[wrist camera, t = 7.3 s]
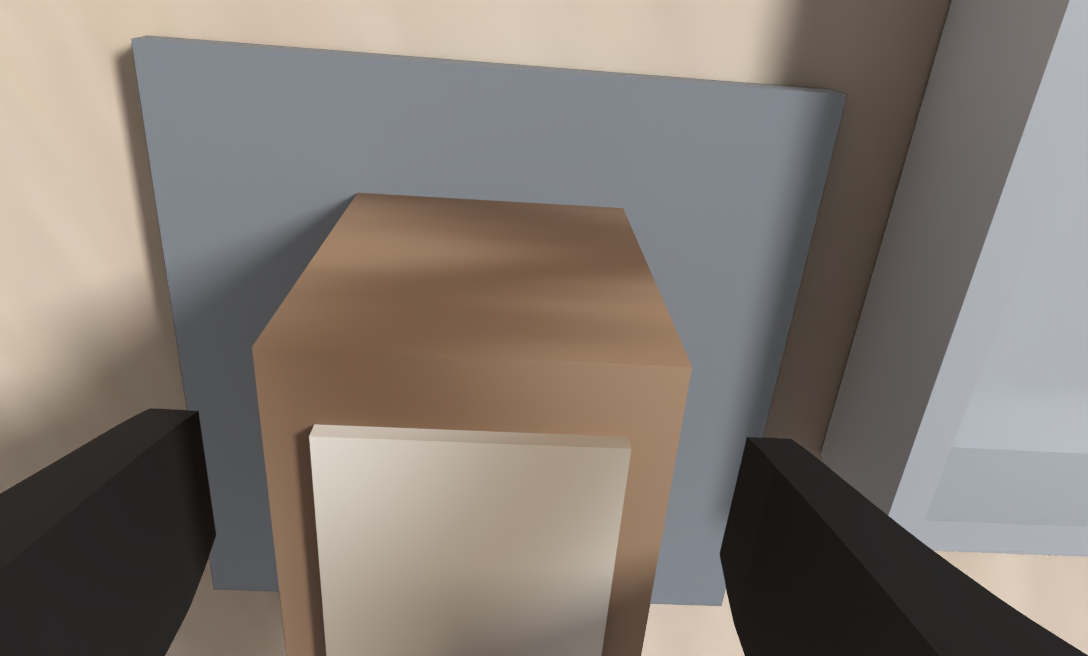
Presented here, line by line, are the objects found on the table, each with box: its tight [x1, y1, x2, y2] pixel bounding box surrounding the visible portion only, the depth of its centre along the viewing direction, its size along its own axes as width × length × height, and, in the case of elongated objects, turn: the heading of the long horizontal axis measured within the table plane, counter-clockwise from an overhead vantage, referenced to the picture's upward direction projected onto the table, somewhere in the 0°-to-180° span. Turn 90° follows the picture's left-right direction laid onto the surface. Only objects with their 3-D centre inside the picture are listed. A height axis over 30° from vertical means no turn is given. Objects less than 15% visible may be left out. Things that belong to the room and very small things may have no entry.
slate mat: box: [131, 36, 847, 606], centre depth 13 cm, size 10×10×1 cm
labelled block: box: [252, 193, 692, 656], centre depth 10 cm, size 4×6×5 cm, turn 176°
